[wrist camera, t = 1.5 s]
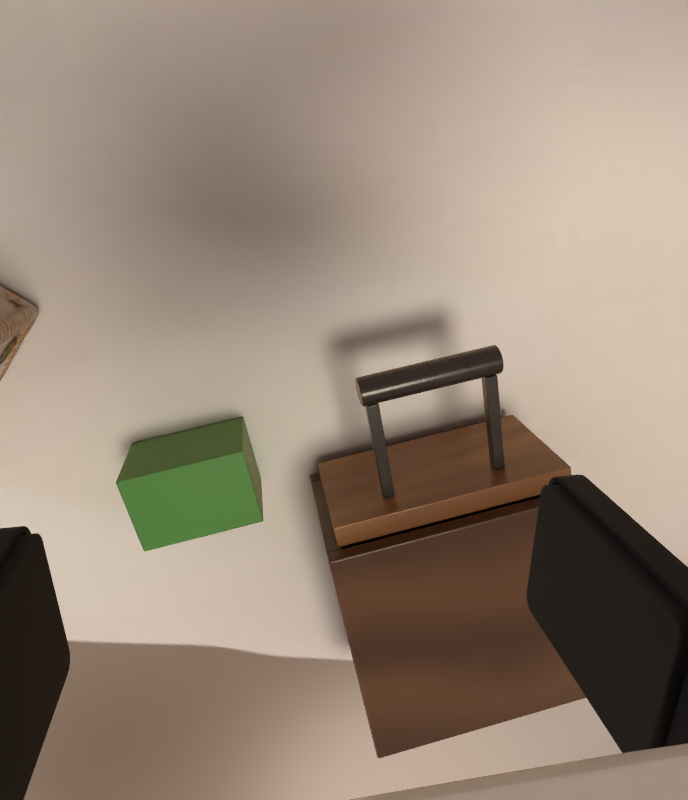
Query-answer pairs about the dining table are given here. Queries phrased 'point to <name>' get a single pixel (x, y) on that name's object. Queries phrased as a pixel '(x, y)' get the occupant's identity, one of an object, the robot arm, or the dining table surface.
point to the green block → (191, 484)
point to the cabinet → (445, 626)
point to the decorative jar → (13, 325)
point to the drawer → (435, 458)
